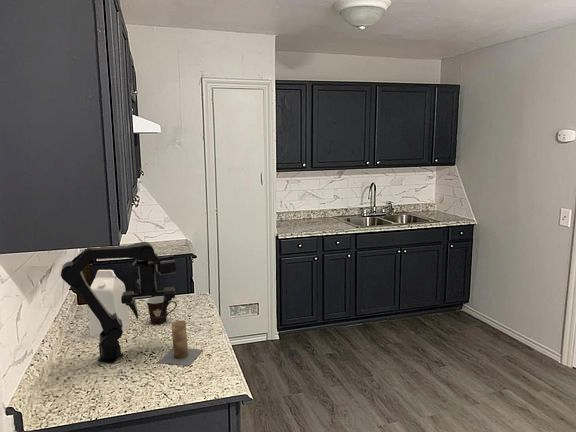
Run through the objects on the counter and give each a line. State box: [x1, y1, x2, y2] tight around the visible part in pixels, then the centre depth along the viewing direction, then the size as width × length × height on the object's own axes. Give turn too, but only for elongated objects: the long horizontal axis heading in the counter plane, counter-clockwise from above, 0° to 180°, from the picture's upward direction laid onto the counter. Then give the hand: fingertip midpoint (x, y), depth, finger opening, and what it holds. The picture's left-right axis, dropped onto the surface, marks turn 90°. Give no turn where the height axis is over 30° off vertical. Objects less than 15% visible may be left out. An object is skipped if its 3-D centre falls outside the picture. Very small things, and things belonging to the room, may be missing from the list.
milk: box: [88, 269, 132, 337], centre depth 186 cm, size 12×12×26 cm
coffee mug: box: [146, 296, 178, 326], centre depth 195 cm, size 12×9×10 cm
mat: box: [157, 347, 204, 367], centre depth 164 cm, size 12×12×1 cm
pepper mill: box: [171, 319, 188, 359], centre depth 162 cm, size 5×5×12 cm
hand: (150, 317), depth 167 cm, fingers open, 9 cm apart
